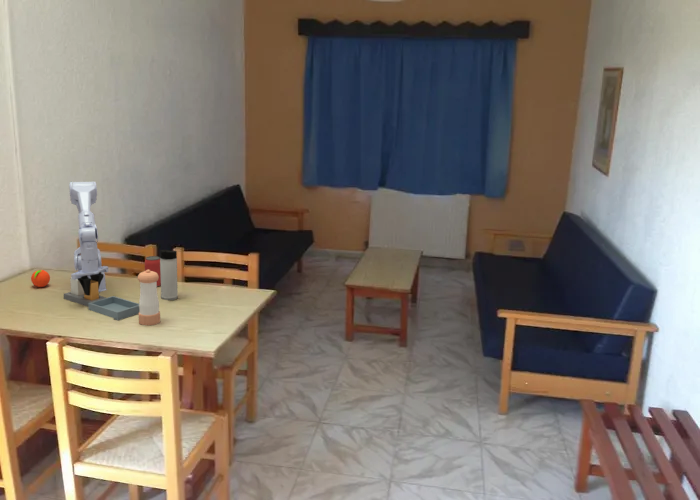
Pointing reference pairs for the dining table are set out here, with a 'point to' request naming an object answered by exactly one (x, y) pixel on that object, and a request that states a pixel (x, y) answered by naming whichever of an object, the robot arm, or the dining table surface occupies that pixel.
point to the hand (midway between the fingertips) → (91, 293)
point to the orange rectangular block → (93, 291)
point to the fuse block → (80, 299)
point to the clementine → (40, 278)
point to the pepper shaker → (148, 298)
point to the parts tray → (115, 307)
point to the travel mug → (168, 274)
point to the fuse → (76, 287)
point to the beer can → (153, 266)
